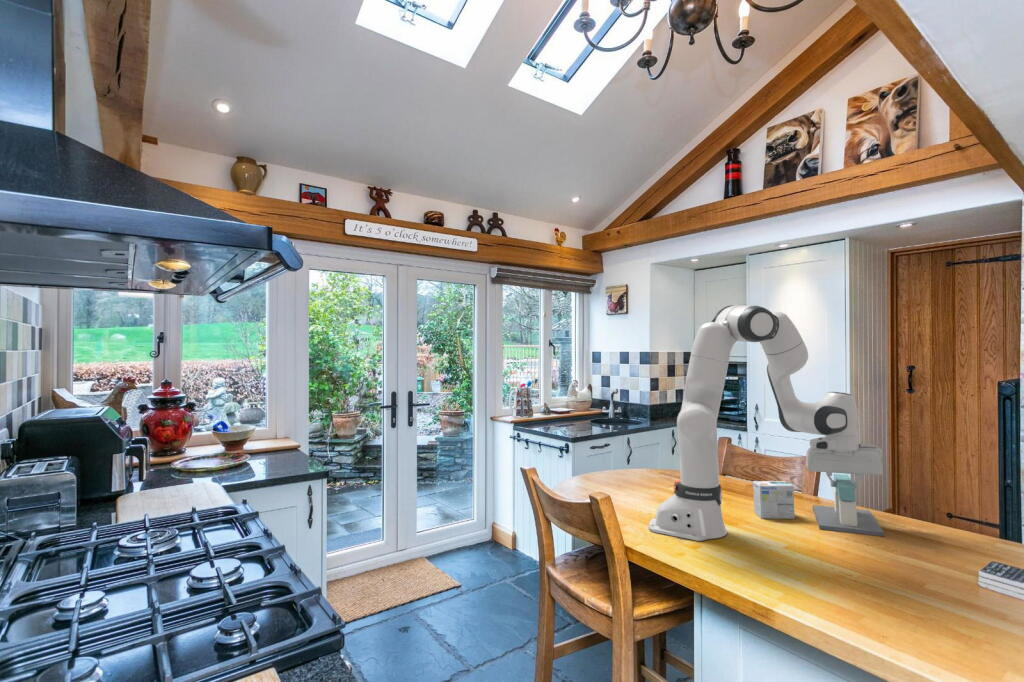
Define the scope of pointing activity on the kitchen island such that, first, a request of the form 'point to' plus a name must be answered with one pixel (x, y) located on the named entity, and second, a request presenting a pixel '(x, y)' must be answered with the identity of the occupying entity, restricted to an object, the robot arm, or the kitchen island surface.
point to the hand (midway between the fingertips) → (844, 487)
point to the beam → (844, 487)
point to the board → (835, 525)
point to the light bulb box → (773, 499)
